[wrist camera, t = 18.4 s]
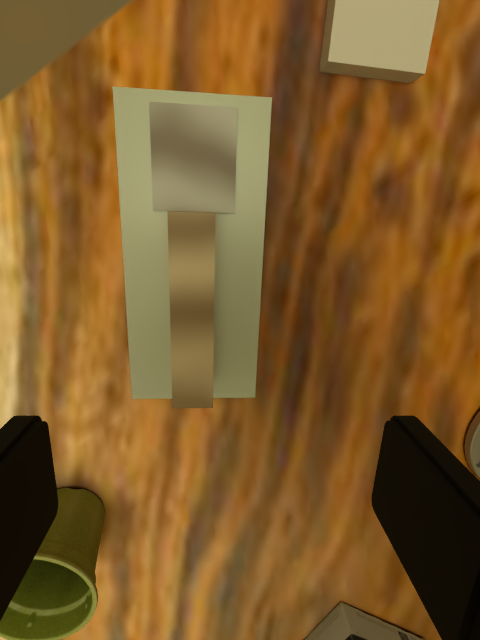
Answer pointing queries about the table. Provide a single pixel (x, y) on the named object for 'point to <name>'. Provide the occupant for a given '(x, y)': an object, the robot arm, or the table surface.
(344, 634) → the tea box
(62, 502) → the plant pot
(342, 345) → the table surface
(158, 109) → the turner
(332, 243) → the table surface
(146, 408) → the table surface
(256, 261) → the board
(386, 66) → the tile
